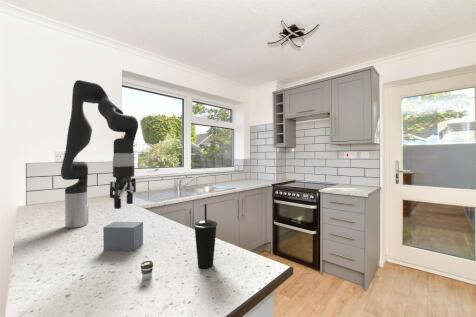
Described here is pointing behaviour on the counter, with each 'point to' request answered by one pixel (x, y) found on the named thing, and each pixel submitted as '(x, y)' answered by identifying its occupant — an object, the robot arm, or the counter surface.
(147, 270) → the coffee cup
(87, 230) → the counter surface
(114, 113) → the robot arm
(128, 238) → the matte grey box
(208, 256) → the drinking cup
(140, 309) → the counter surface
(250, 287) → the counter surface
